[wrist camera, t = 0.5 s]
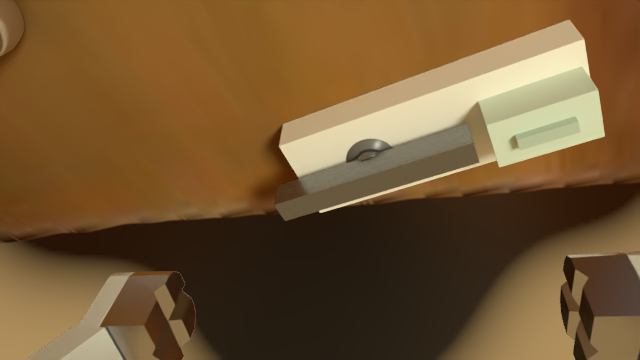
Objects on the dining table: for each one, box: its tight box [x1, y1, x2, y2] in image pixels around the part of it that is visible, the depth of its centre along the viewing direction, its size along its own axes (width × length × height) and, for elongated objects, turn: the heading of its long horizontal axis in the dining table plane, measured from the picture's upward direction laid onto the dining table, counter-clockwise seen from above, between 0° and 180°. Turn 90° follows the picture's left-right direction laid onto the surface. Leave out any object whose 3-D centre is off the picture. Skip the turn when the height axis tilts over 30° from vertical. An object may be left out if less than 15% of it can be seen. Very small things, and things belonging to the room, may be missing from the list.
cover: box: [478, 66, 605, 167], centre depth 46 cm, size 5×9×5 cm, turn 115°
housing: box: [279, 20, 590, 213], centre depth 52 cm, size 10×29×4 cm, turn 115°
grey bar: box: [274, 124, 480, 221], centre depth 51 cm, size 3×20×4 cm, turn 115°
